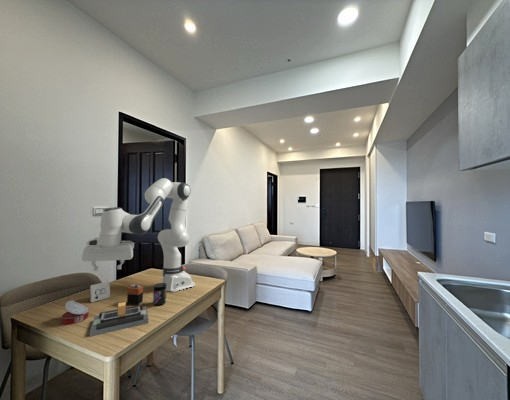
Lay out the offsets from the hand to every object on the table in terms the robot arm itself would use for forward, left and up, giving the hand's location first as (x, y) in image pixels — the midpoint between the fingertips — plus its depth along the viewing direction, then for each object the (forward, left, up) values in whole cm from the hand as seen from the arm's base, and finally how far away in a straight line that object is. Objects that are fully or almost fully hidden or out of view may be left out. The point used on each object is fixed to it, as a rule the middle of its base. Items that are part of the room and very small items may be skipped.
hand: (107, 269), depth 101 cm
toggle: (-7, +4, -22) cm, 23 cm away
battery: (-13, -15, -24) cm, 31 cm away
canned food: (+12, -9, -25) cm, 29 cm away
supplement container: (-25, -8, -24) cm, 35 cm away
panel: (-7, +4, -24) cm, 25 cm away
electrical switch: (+5, -30, -24) cm, 39 cm away
